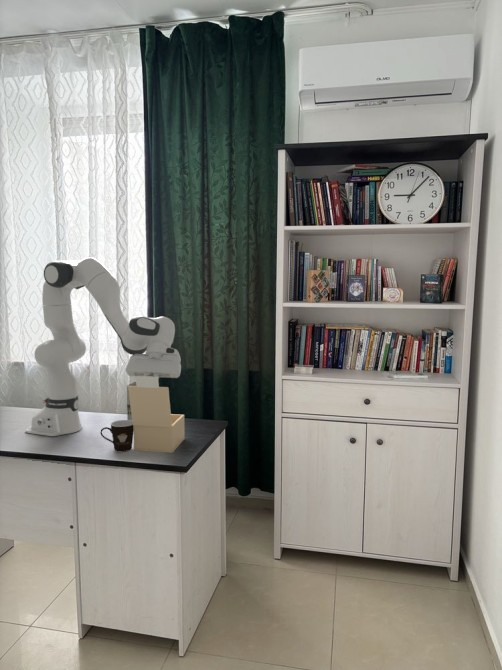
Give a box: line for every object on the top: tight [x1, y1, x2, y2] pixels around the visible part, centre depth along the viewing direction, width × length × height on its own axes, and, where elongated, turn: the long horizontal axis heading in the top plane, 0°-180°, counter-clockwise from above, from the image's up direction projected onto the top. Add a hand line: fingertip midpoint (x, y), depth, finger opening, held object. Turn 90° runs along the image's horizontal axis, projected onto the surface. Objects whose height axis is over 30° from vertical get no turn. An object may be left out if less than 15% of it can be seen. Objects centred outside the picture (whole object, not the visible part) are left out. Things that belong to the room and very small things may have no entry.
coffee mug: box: [100, 419, 134, 453], centre depth 192 cm, size 12×9×10 cm
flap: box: [128, 376, 172, 427], centre depth 184 cm, size 15×20×1 cm
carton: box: [133, 413, 186, 453], centre depth 196 cm, size 15×16×10 cm
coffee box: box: [126, 381, 137, 421], centre depth 232 cm, size 9×6×16 cm
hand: (149, 385), depth 183 cm, fingers closed, pressing on flap
